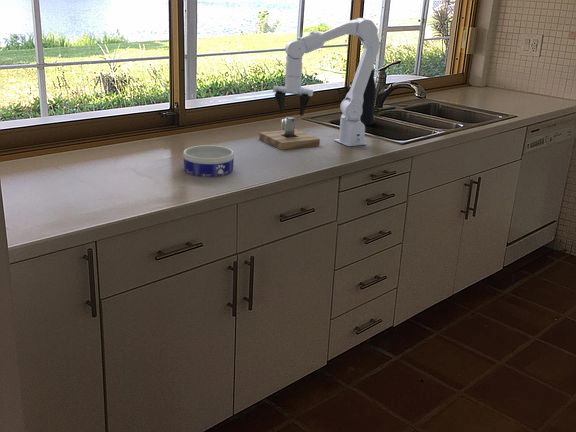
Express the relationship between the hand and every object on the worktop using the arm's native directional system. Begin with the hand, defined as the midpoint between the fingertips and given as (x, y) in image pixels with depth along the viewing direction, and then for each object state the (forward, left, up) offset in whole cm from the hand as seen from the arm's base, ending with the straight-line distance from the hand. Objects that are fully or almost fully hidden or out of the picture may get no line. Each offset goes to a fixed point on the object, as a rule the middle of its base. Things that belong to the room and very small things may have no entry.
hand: (291, 113), depth 230 cm
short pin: (+14, -6, -10) cm, 18 cm away
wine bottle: (+16, -46, -11) cm, 50 cm away
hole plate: (0, +1, -10) cm, 10 cm away
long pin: (0, +1, -10) cm, 10 cm away
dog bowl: (-20, +42, -11) cm, 48 cm away
